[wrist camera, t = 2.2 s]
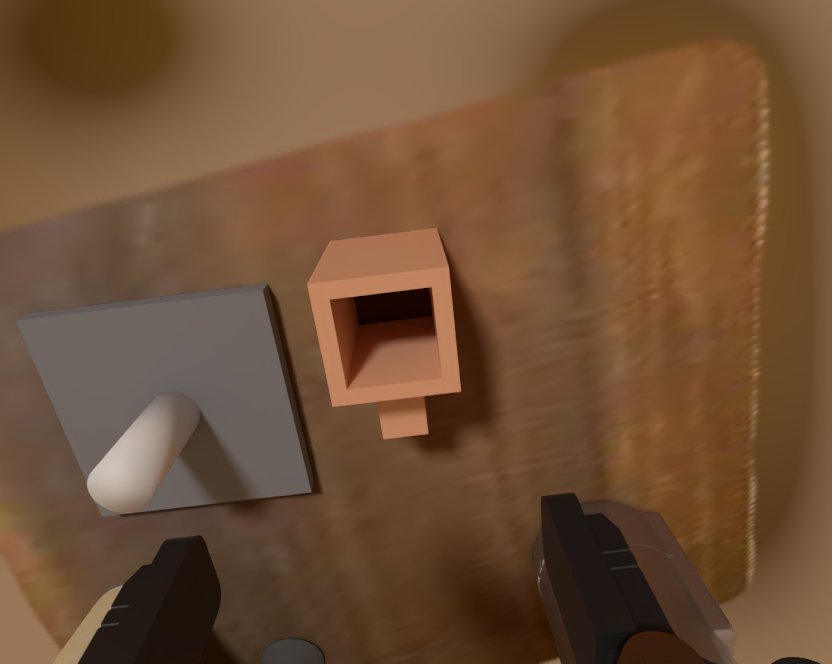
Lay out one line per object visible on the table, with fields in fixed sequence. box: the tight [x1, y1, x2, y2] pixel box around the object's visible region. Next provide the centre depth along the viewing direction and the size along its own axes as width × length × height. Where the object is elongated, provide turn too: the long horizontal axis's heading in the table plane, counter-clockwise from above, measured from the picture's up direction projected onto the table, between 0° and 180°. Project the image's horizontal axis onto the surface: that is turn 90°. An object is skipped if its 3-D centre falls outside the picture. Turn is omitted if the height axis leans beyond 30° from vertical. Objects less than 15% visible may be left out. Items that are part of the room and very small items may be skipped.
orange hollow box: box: [307, 228, 461, 439], centre depth 28 cm, size 6×10×8 cm, turn 7°
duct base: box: [16, 284, 314, 516], centre depth 30 cm, size 14×14×8 cm
